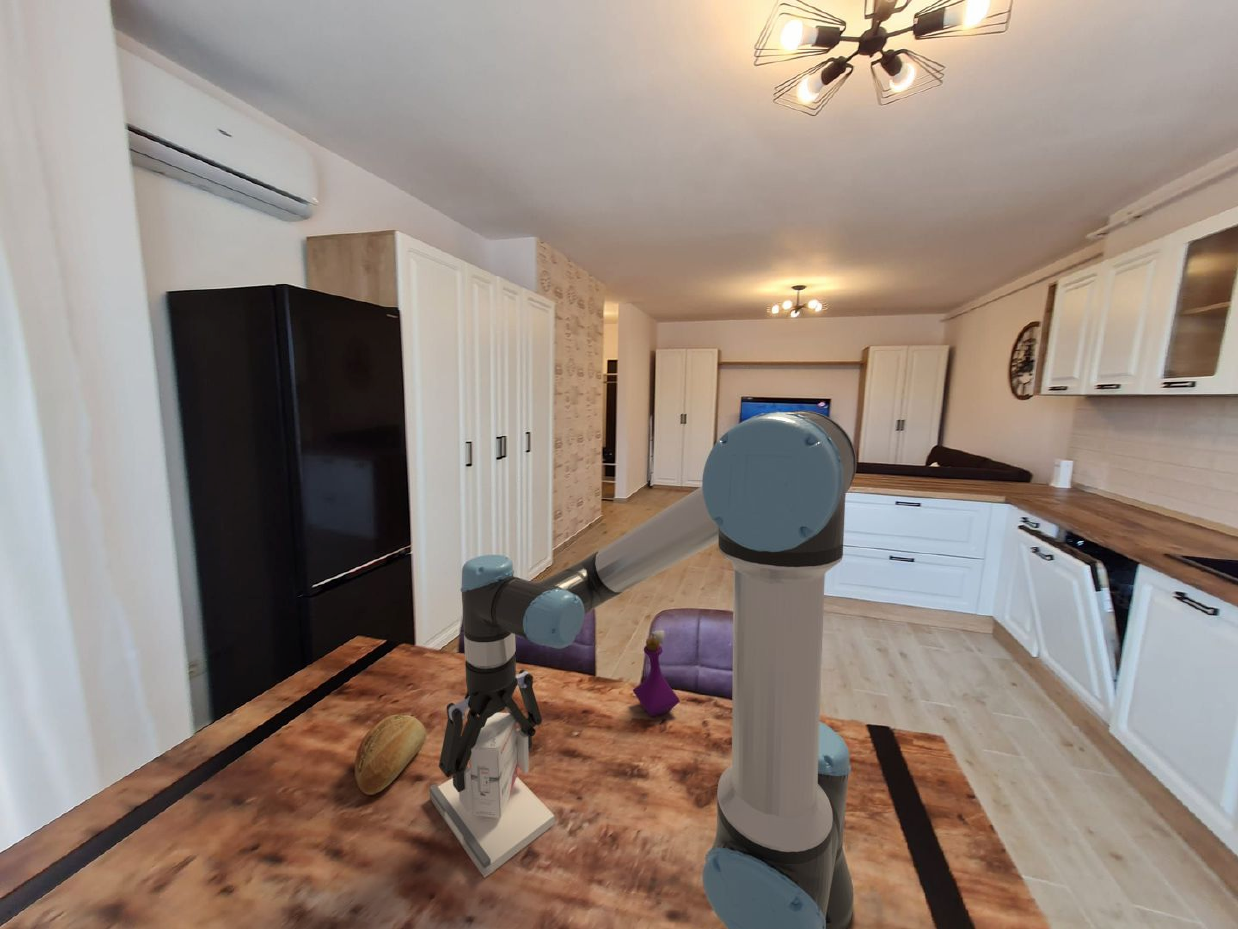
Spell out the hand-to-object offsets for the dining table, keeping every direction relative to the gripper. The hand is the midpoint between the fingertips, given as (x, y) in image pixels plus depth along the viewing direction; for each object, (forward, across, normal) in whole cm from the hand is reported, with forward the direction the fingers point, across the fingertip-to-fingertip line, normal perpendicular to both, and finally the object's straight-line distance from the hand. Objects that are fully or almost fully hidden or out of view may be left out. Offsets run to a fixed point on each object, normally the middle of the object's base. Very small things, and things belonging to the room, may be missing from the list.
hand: (495, 785), depth 76 cm
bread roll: (+4, +9, -21) cm, 23 cm away
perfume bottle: (+4, -37, +2) cm, 37 cm away
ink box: (+2, 0, 0) cm, 2 cm away
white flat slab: (+4, +1, 0) cm, 4 cm away
